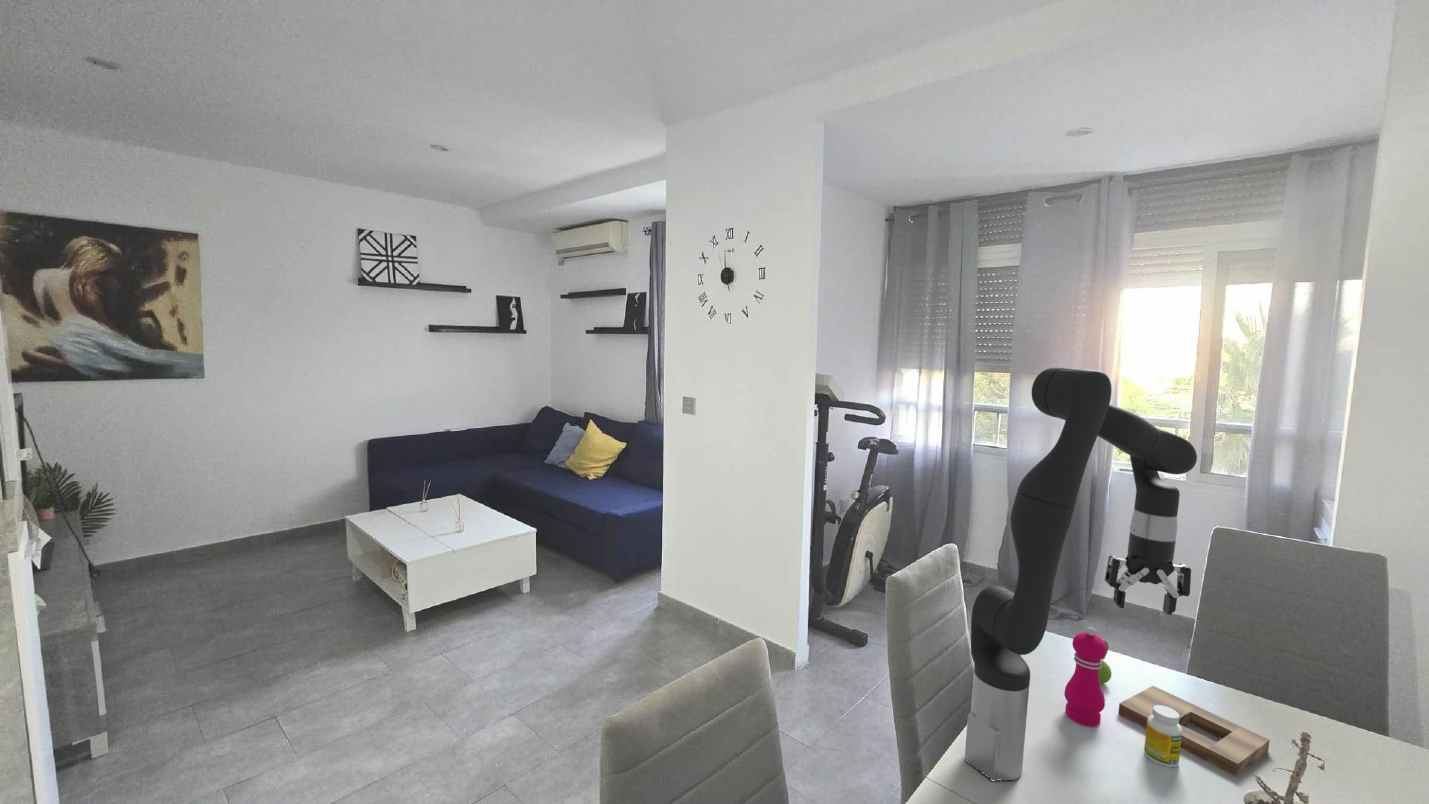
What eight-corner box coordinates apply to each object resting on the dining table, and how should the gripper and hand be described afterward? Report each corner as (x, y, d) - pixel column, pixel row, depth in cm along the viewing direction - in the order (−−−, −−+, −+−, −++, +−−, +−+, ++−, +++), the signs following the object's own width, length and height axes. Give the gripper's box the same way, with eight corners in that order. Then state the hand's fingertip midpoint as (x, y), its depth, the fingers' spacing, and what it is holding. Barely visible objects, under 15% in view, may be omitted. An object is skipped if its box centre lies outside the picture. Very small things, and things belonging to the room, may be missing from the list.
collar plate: (1236, 776, 107) (1238, 764, 107) (1118, 714, 125) (1119, 703, 124) (1268, 751, 114) (1269, 739, 114) (1151, 696, 131) (1153, 685, 131)
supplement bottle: (1150, 744, 115) (1155, 699, 114) (1183, 761, 111) (1189, 714, 110) (1138, 754, 112) (1143, 708, 111) (1172, 772, 108) (1177, 724, 107)
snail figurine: (1074, 679, 137) (1079, 630, 136) (1092, 673, 140) (1096, 625, 139) (1098, 692, 133) (1103, 641, 131) (1115, 685, 135) (1120, 636, 134)
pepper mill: (1091, 708, 127) (1100, 620, 124) (1110, 730, 119) (1119, 637, 117) (1056, 705, 127) (1064, 618, 125) (1073, 727, 120) (1081, 635, 118)
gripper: (1120, 535, 117) (1111, 612, 119) (1204, 544, 113) (1193, 623, 115) (1105, 524, 124) (1097, 597, 126) (1183, 532, 121) (1174, 607, 122)
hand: (1143, 609), depth 120 cm, fingers open, 8 cm apart
